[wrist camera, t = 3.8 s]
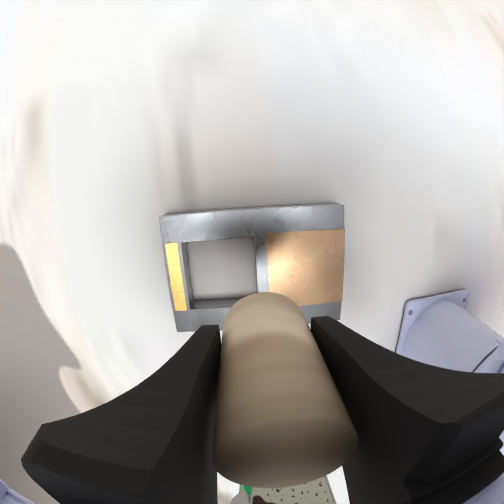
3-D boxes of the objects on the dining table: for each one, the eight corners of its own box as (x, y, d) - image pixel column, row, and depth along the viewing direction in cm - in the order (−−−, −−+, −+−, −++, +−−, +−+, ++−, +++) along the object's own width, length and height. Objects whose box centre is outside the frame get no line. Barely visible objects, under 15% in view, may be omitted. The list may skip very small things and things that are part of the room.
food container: (208, 448, 24) (202, 523, 14) (242, 423, 23) (245, 510, 13) (290, 475, 26) (300, 536, 17) (325, 453, 25) (344, 519, 15)
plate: (333, 310, 20) (340, 320, 18) (181, 321, 20) (176, 332, 18) (336, 203, 18) (344, 205, 16) (165, 213, 18) (158, 217, 16)
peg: (303, 358, 11) (343, 476, 5) (227, 364, 11) (222, 490, 5) (305, 288, 10) (371, 402, 4) (218, 294, 10) (199, 422, 4)
